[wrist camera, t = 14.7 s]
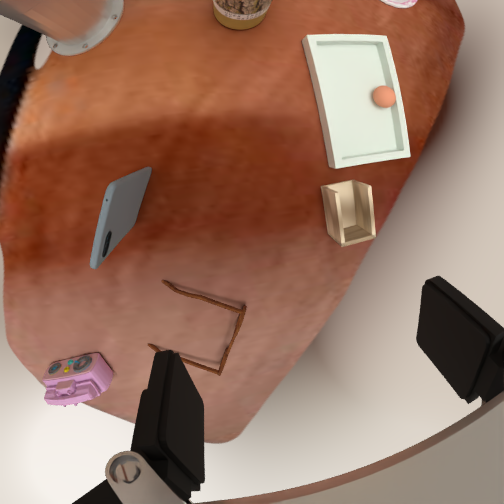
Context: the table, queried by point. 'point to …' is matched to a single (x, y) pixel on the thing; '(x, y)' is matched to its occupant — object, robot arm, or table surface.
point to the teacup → (400, 3)
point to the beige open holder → (349, 212)
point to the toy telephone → (76, 379)
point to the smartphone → (118, 213)
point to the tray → (356, 98)
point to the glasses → (241, 312)
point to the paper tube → (240, 12)
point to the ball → (384, 96)
